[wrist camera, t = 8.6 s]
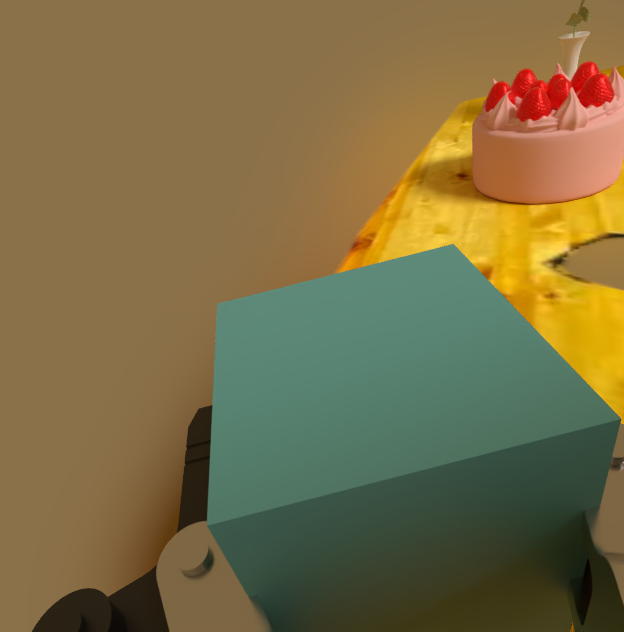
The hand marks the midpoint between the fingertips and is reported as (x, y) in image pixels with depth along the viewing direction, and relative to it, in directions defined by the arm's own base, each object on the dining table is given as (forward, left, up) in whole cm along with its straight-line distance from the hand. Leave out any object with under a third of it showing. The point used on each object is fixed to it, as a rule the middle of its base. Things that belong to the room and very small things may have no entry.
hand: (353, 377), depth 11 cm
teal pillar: (0, +3, -6) cm, 7 cm away
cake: (-47, -48, -22) cm, 71 cm away
